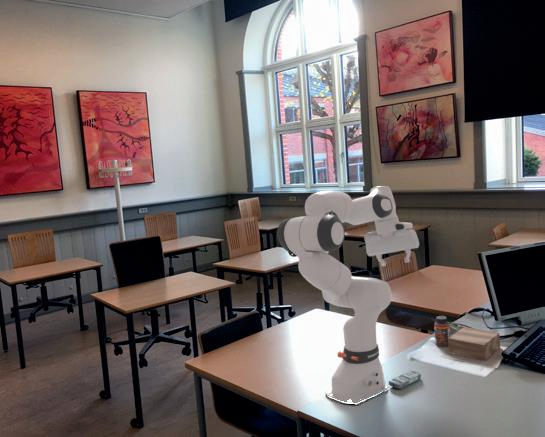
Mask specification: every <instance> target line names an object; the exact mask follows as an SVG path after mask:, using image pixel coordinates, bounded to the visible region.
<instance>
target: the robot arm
mask: <svg viewBox="0 0 545 437" xmlns="http://www.w3.org/2000/svg"><path fill="white" fill-rule="evenodd" d="M396 209H397V205H396V201H395V198H394V195H393V192H392V189H391V188H390V187H389V186H388V185H376V186H373V187H372V188H370V190H369V194H368V195H366V196H362V197H358V198H354V199H352V198H351V196H350V195H349V194H347V193H346V192H343V191H340V190H323V191H318V192H315V193H311V195H309V196H308V197H307V199H306V200H305V204H304V211H305V214H306V215H303V216H295V217H294V216H292V217H288V218H285V219H284V220H282V221H281V222H280V223H279V224H278V227H277V232H276V237H277V240H278V243H279V244H280V246H281V247H282V248H283V250H285V251H286V252H287V253H288V255H289V256H290V257H292V258H296V257H297V258H298V264H297V265H298V271H299V274H301V276H302V277H303V278H304V279H305V280H306V281H307V282H308V283H309V284H310V285H312V286H313V287H315V288H316V289H318V290H320V291H321V294H322V295H321V296H322V298H323V299H324V301H325V302H326V303H329V304H330V305H333V306H335V307H341V308H349V309H353V310H354V316H352V317H350V318H349V319H347V320H346V322H345V323H344V324H343V329H342V330H343V339H344V346H343V352H342V351H340V350H339V351H338V352H337V358H341V359H342V360H341V362H340V363H339V365H338V367H337V369H336V370H335V372H334V373H333V375H332V377H331V386H330V387H329V388H328V389H327V390H326V391H325V395H326V394H327V395H328V396H330V397H332V398H335V399H337V400H340V401H344V402H347V400H349V399H351V400H352V402H353V403H358V402H360V401H362V400H364V399H367V398H369V397H371V396H373V395H376V394H378V393H380V392H382V391H385V390H387V389H388V390H389V388H388V385H387V384H386V380H385V375H384V370H383V366H382V364H381V361H380V359H379V356H380V348H379V344H378V343H377V321H378V317H379V316H380V314H381V313H382V312H383V311H384V310H386V309H387V308H388V306H389V305H390V304H391V302H392V297H393V294H392V289H391V287H390V285H389V283H388V282H387V281H384V280H382V279H378V278H374V277H367V276H356V275H355V276H354V275H352V272H351V270H350V269H349V267H348V266H346V265H345V264H344V263H342V262H341V261H339V260H338V259H336V258H335V257H334V256H332V255H331V254H329V252H332V251H336V250H338V249H340V247H341V246H342V245H343V244H344V241H345V237H346V234H345V233H346V232H345V227H344V225H345V226H347V227H351V228H352V227H356V226H360V225H363V224H367V223H372V222H374V225H375V231H369V232H366V234H365V235H364V237H363V238H364V242H365V250H366V251H365V252H366V254H367V256H368V257H374V256H376V259H377V260H378V261H379V263H380V267H386V266H387V261H386V260H384V259H383V255H384V254H390V253H396V252H401V251H404V252H405V254H406V256H405V257H404V258H403V260H404V261H403V262H404V263H405V264H406V263H410V262H411V260H410V256H411V254H412V250H414V249H418V248H419V247H420V241H419V238H418V235H417V232H416V231H415V229H413V228H414V226H413V225H414V224H413V223H412V222H405V221H400V220H399V217H398V215H397V212H396ZM330 394H333V395H330ZM360 399H361V400H360Z"/></svg>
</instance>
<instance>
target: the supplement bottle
mask: <svg viewBox="0 0 545 437" xmlns="http://www.w3.org/2000/svg"><path fill="white" fill-rule="evenodd" d="M435 319H436V321H435V322H434V325H433V326H434V328H433V329H434V341H435V344H436V345H437V346H439V347H448V346H447V345H448V338H449V337H450V336H451V327H450V323H449V322H448V321H447V320H448V319H447V316H445V315H439V316H436V318H435Z"/></svg>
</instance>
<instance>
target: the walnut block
mask: <svg viewBox="0 0 545 437" xmlns="http://www.w3.org/2000/svg"><path fill="white" fill-rule="evenodd" d="M500 338H501V337H500V332H495V331H490V330H485V329H480V328H479V329H478V328H473V327H467V326H463V327H462V328H460V329H459V330H457V331H456V332H455V333H453V334H452V335H450V337H449V338H448V346H447V347H448V353H449V352H450V353H449V354H452V353H455V354H454V355H456V354H459V355H458V356H461V355H463V356H462V357H466V356H467V357H466V358H471V359H476V360H480V361H484V362H485V361H487V360H488V358H490V357H491V356H493V355H494V354H495V353H496V352H497V351H499V350H500V349H501V341H500ZM496 350H497V351H496ZM495 351H496V352H495ZM494 352H495V353H494ZM493 353H494V354H493Z"/></svg>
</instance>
